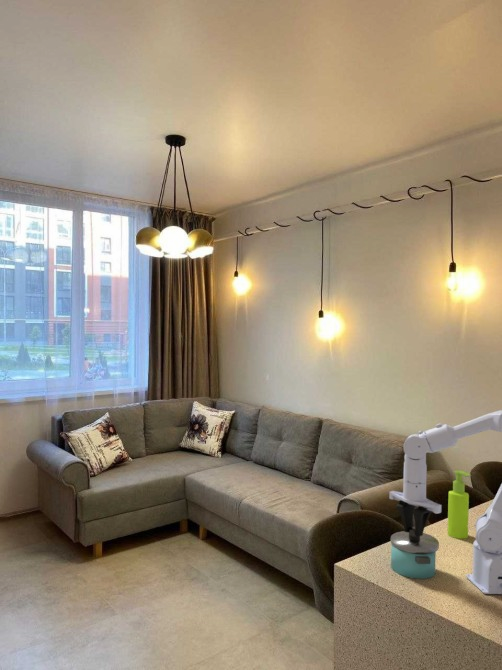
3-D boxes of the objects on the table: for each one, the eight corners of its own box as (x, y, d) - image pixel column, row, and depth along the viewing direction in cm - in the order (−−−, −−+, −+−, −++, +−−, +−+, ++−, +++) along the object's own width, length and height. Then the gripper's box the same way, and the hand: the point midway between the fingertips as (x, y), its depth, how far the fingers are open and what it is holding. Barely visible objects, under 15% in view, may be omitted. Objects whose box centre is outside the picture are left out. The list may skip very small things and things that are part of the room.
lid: (443, 540, 133) (443, 525, 133) (433, 558, 123) (432, 542, 123) (398, 531, 140) (397, 517, 140) (384, 547, 129) (384, 532, 129)
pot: (445, 582, 124) (445, 557, 124) (401, 581, 123) (402, 557, 124) (422, 557, 138) (423, 536, 138) (383, 557, 138) (383, 535, 138)
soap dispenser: (460, 541, 152) (461, 474, 152) (443, 533, 158) (444, 469, 159) (474, 538, 154) (476, 473, 155) (457, 531, 160) (459, 468, 161)
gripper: (448, 485, 128) (447, 539, 128) (401, 473, 140) (399, 522, 139) (432, 489, 124) (431, 545, 123) (384, 476, 135) (383, 527, 135)
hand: (413, 533), depth 131 cm, fingers closed on lid, 3 cm apart
